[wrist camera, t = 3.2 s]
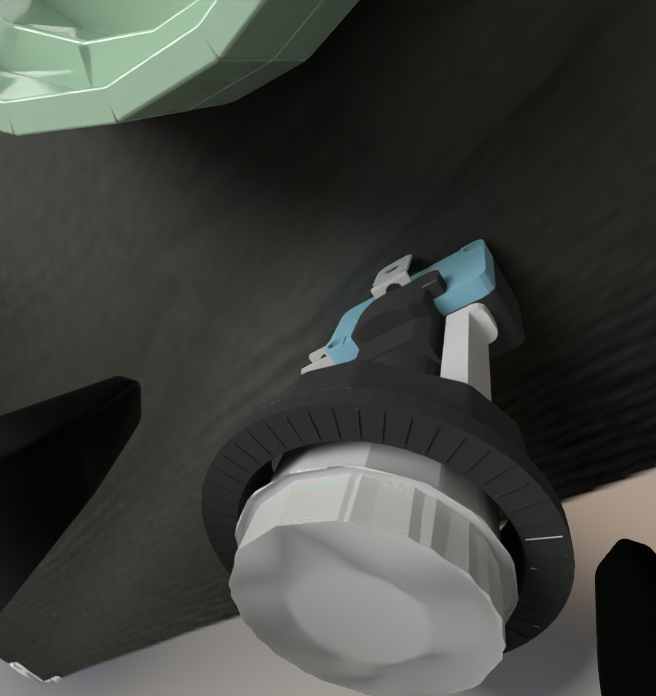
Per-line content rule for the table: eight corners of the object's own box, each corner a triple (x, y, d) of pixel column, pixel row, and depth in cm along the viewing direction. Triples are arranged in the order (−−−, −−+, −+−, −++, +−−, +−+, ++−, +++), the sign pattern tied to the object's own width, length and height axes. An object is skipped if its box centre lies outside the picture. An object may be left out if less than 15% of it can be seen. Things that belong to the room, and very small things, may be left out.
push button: (361, 413, 17) (257, 743, 9) (270, 289, 16) (42, 549, 7) (552, 333, 14) (664, 726, 6) (462, 171, 13) (442, 386, 4)
